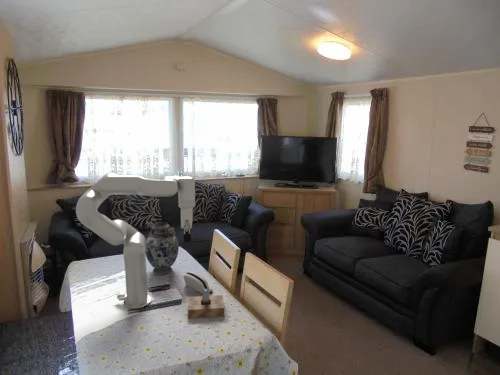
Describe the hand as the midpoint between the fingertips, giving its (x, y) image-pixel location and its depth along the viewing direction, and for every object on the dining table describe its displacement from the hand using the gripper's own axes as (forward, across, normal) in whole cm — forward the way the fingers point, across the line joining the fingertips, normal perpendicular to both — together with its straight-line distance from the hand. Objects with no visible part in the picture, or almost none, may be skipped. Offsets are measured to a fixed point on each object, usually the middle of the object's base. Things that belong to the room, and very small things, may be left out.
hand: (187, 238), depth 181 cm
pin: (+30, +13, +8) cm, 34 cm away
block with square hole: (+30, +13, +8) cm, 34 cm away
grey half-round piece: (+31, -9, +4) cm, 32 cm away
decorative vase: (+31, -34, -15) cm, 48 cm away
